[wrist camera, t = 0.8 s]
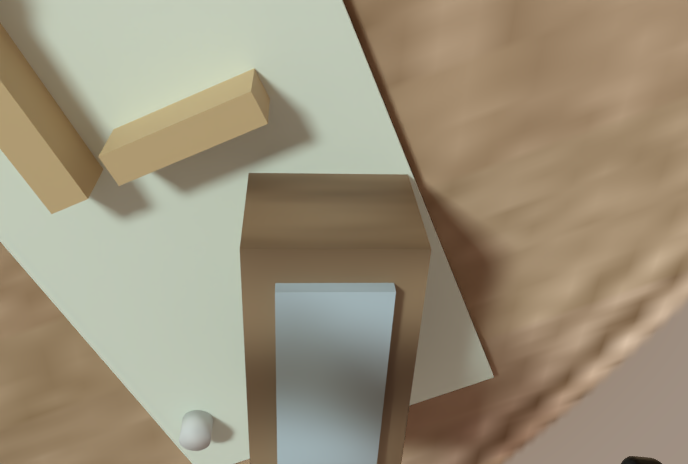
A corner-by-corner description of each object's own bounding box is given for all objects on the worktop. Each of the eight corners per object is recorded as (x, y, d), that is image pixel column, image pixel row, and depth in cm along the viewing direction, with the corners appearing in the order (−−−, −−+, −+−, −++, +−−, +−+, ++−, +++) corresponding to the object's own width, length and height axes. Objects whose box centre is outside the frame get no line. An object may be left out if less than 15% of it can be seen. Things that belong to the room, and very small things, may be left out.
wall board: (202, 464, 28) (194, 528, 26) (-503, -365, 13) (-688, -405, 11) (490, 368, 26) (511, 427, 24) (45, -740, 11) (-27, -897, 9)
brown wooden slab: (383, 397, 26) (399, 499, 22) (257, 399, 26) (250, 503, 22) (408, 174, 21) (433, 257, 17) (248, 172, 20) (238, 258, 17)
